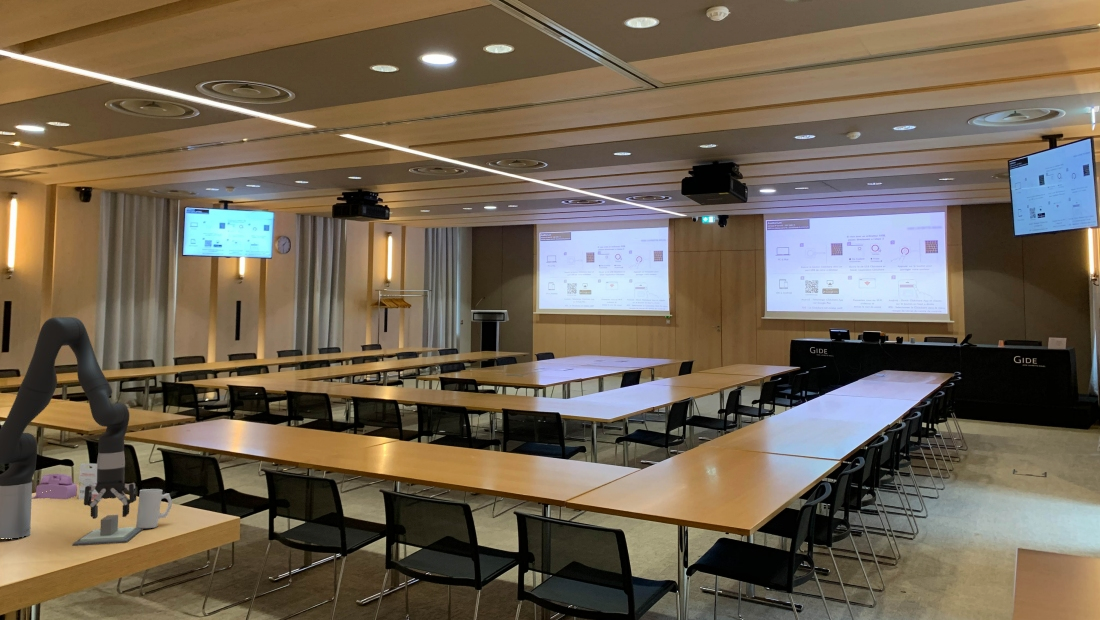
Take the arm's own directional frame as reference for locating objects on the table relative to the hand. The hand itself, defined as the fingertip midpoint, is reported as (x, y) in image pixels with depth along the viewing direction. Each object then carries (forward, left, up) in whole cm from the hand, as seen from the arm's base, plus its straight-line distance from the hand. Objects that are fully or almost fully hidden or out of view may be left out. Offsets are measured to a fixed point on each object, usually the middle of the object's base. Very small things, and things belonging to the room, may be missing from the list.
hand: (110, 517), depth 224 cm
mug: (+9, +11, -6) cm, 16 cm away
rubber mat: (0, 0, -6) cm, 6 cm away
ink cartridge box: (-26, +60, -7) cm, 66 cm away
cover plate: (0, 0, -6) cm, 6 cm away
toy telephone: (-43, +67, -7) cm, 80 cm away
